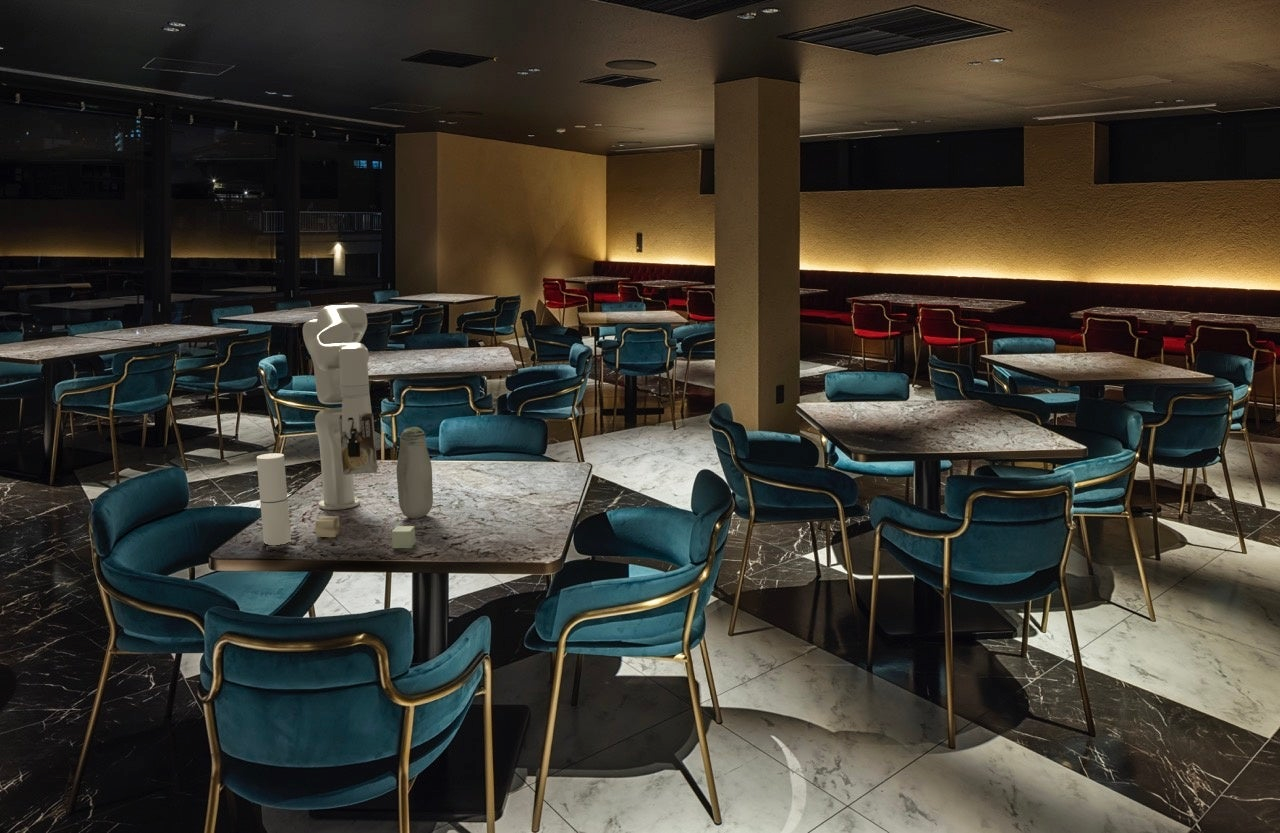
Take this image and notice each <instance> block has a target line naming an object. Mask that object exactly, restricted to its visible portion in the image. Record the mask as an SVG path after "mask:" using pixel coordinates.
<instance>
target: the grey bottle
mask: <svg viewBox="0 0 1280 833" xmlns="http://www.w3.org/2000/svg"><path fill="white" fill-rule="evenodd" d="M399 442H400V443H399V449H398V450H399V451H398V455H397V456H398V457H397V461H396V482H397V496H398V505H399V508H400V511H401V513H402V514H403V515H404V516H405V517H406V518H409V519H413V520H414V519H415V520H417V519H421V518H423V517H426V516H427V515H428V514H429V513H430V511H431V510H432V508H433V502H434V495H433V494H434V493H433V491H434V490H433V467H432V466H433V465H432V462H431V458H430V453H429V451H428V446H427V440H426V434H425V431H424V430H422V428H420V427H418V426H413V427H412V426H411V427H407V428H405V429H404V430H403V431H402V432H401V434H400V437H399Z"/></svg>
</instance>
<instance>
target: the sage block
mask: <svg viewBox="0 0 1280 833" xmlns="http://www.w3.org/2000/svg"><path fill="white" fill-rule="evenodd" d="M415 528H416V527H415V525H402V526H401V525H400V526H399V525H397V526H395V528H393V530H392V531H391V541H392V544H391V545H392V549H393V548H411V547H412V546H413V545H414V546H415V545H416V543H415V542H416V541H417V540H416V530H415ZM414 546H413V547H414ZM413 547H412V548H413ZM412 548H411V549H412Z"/></svg>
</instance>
